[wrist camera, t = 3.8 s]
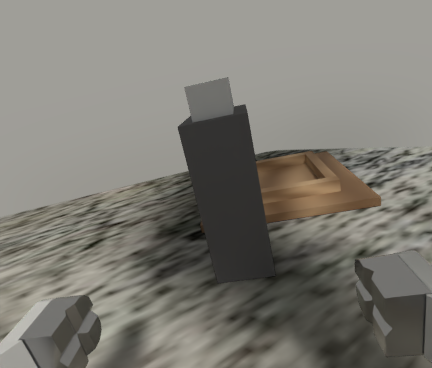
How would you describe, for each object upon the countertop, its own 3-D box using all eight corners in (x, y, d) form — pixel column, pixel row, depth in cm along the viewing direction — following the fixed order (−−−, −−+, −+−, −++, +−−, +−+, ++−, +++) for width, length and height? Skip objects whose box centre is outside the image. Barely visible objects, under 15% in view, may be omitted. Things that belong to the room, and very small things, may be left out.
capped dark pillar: (268, 238, 24) (240, 74, 20) (275, 275, 19) (240, 74, 15) (221, 245, 24) (183, 87, 20) (217, 283, 20) (168, 90, 16)
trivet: (327, 156, 40) (326, 142, 39) (380, 205, 25) (380, 184, 24) (214, 177, 42) (211, 164, 41) (202, 232, 27) (197, 214, 26)
